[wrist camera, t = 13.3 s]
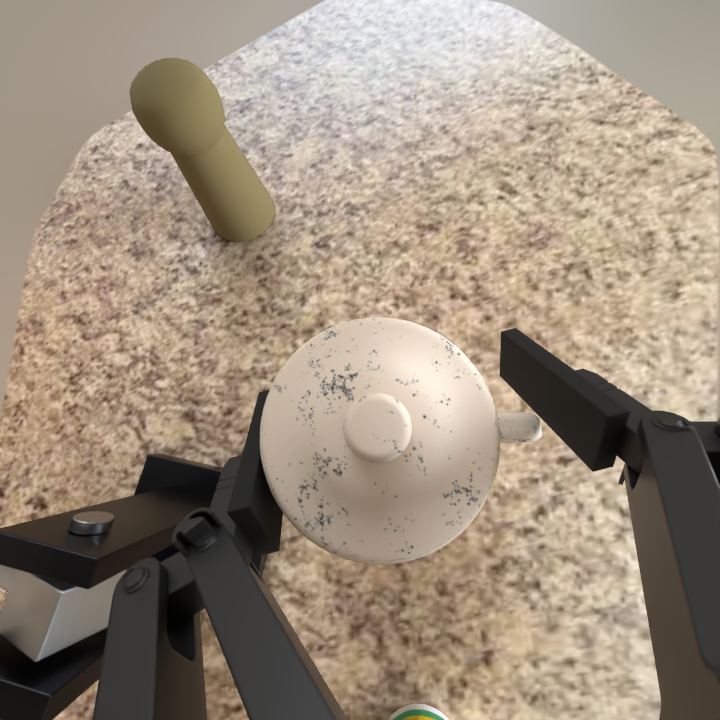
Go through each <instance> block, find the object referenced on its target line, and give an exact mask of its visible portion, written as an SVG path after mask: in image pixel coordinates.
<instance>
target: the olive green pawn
mask: <svg viewBox="0 0 720 720" xmlns="http://www.w3.org/2000/svg"><path fill="white" fill-rule="evenodd" d="M130 98H131V104H132V110H133V113H134V115H135V117H136V119H137V121H138V122H139V124H140V125H141V127H142V128H143V130H144V131H145V132H146V133H147V135H148V136H149V137H150V138H151V139H152V140H153V141H154V142H155V143H156V144H158V145H159V146H160V147H162V148H163V149H165V150H166V151H169V152H171V154H172V156H173V158H174V159H175V161H176V163H177V165H178V166H179V168H180V170H181V172H182V174H183V175H184V177H185V179H186V181H187V182H188V184H189V186H190V188H191V190H192V191H193V193H194V195H195V197H196V198H197V200H198V202H199V204H200V206H201V207H202V209H203V211H204V213H205V214H206V216H207V218H208V220H209V221H210V223H211V225H212V227H213V228H214V230H215V231H216V233H217V234H218V235H220V236H221V237H223V238H224V239H226V240H230V241H233V242H244V241H248V240H251V239H254V238H256V237H258V236H259V235H261V234H262V233H264V232H265V231H266V230H267V228H268V227H269V226H270V225H271V223H272V221H273V218H274V215H275V206H274V202H273V199H272V198H271V196H270V194H269V193H268V191H267V190H266V188H265V187H264V185H263V184H262V182H261V180H260V179H259V177H258V176H257V174H256V173H255V171H254V170H253V168H252V167H251V165H250V163H249V162H248V160H247V159H246V157H245V156H244V154H243V153H242V151H241V149H240V148H239V146H238V145H237V143H236V142H235V140H234V139H233V137H232V135H231V134H230V132H229V131H228V129H227V128H226V126H225V125H224V122H225V114H224V109H223V105H222V101H221V98H220V95H219V93H218V91H217V89H216V87H215V86H214V84H213V83H212V81H211V80H210V79H209V77H208V76H207V75H206V74H205V72H204V71H203V70H201V69H200V68H199V67H197V66H196V65H195V64H193V63H191V62H190V61H188V60H183V59H178V58H165V59H161V60H157V61H154V62H152V63H150V64H149V65H147V66H145V67H144V68H143V69H142V70H141V71H140V72H139V73H138V74H137V76H136V77H135V79H134V80H133V82H132V84H131V88H130Z"/></svg>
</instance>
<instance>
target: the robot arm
mask: <svg viewBox="0 0 720 720" xmlns="http://www.w3.org/2000/svg"><path fill="white" fill-rule="evenodd" d="M500 376H501V377H502V378H503V379H504V380H505V381H506V382H507V383H508V384H509V385H510V387H511V388H512V389H513V390H514V391H515V392H516V393H517V394H518V395H519V396H520V397H521V398H522V399H523V400H524V401H525V402H526V403H527V404H528V405H529V406H530V407H531V408H532V409H533V410H534V411H535V412H536V413H537V414H538V415H539V416H540V417H541V419H542V420H543V421H544V422H545V423H546V424H547V425H548V426H549V427H550V428H551V429H552V430H553V431H554V432H555V433H556V434H557V435H558V436H559V437H560V438H561V439H562V440H563V441H564V442H565V443H566V444H567V445H568V446H569V447H570V448H571V449H572V451H573V452H574V453H575V454H576V455H577V456H578V457H579V458H580V459H581V460H582V461H583V462H584V463H585V464H586V465H587V466H588V467H589V468H590V469H591V470H592V471H597V470H601V469H605V468H609V467H613V465H614V462H615V459H616V456H618V457H619V458H621V459H622V460H623V461H624V462H625V465H624V468H623V470H622V473H621V476H620V479H619V484H622V485H623V482H624V480H625V483H626V489H627V495H628V501H629V507H630V513H631V519H632V525H633V532H634V538H635V544H636V550H637V556H638V562H639V568H640V574H641V580H642V586H643V592H644V598H645V604H646V610H647V616H648V622H649V628H650V634H651V640H652V646H653V652H654V658H655V664H656V670H657V676H658V682H659V688H660V695H661V711H660V719H659V720H720V418H719V420H718V421H717V422H690V421H688V420H687V419H685V418H684V417H682V416H679V415H677V414H674V413H670V412H666V411H652V410H650V409H649V408H647V407H646V406H644V405H643V404H641V403H640V402H638V401H637V400H635V399H634V398H632V397H631V396H629V395H628V394H626V393H625V392H623V391H622V390H620V389H617V387H616V386H614V385H613V384H611V383H608V381H607V380H605V379H604V378H602V377H601V376H599V375H598V374H596V373H593V372H590V371H588V370H585V369H580V370H576V371H575V370H573V369H572V368H571V367H569V366H568V365H566V364H565V363H564V362H562V361H561V360H559V359H558V358H557V357H555V356H554V355H552V354H551V353H550V352H548V351H547V350H545V349H544V348H543V347H541V346H540V345H538V344H537V343H536V342H534V341H533V340H531V339H530V338H529V337H527V336H526V335H524V334H523V333H522V332H520V331H519V330H517V329H516V328H514V329H510V330H506V331H502V332H501V351H500ZM269 391H270V390H267V391H263V392H259V395H258V399H257V402H256V406H255V410H254V414H253V417H252V421H251V425H250V428H249V432H248V436H247V439H246V443H245V447H244V451H243V454H242V455H241V456H237V457H233V458H230V459H229V460H228V462H227V463H226V464H225V466H224V467H223V469H222V471H221V474H220V477H219V482H218V483H217V487H216V491H215V493H214V496H213V499H212V502H211V505H210V508H199V509H196V510H194V511H192V512H190V513H189V514H187V515H186V516H185V517H184V518H183V519H182V520H181V521H180V522H179V523H178V525H177V526H176V527H175V529H174V531H173V534H172V544H173V545H174V546H175V547H176V548H177V549H178V550H179V551H180V552H178V553H176V554H174V555H173V556H171V557H169V558H167V559H165V560H164V561H162V562H159V561H158V560H157V559H155V558H154V557H149V558H145V559H142V560H140V561H138V562H137V563H135V564H134V565H133V566H131V567H130V568H129V569H128V570H127V571H126V572H125V573H124V574H123V575H122V577H121V578H120V580H119V581H118V583H117V584H116V587H115V589H114V592H113V597H112V603H111V609H110V615H109V621H108V628H107V634H106V640H105V646H104V652H103V659H102V665H101V671H100V677H99V683H98V690H97V696H96V702H95V708H94V714H93V720H207V712H206V697H205V682H204V668H203V653H202V638H201V623H200V611H201V610H203V609H204V608H206V611H207V613H208V616H209V618H210V621H211V624H212V626H213V629H214V631H215V634H216V636H217V639H218V641H219V644H220V646H221V649H222V651H223V654H224V656H225V659H226V662H227V664H228V667H229V669H230V672H231V674H232V677H233V679H234V682H235V684H236V687H237V689H238V692H239V694H240V697H241V700H242V702H243V705H244V707H245V710H246V712H247V715H248V717H249V720H348V719H347V717H346V716H345V714H344V712H343V711H342V709H341V707H340V706H339V704H338V703H337V701H336V699H335V698H334V696H333V694H332V693H331V691H330V689H329V688H328V686H327V684H326V683H325V681H324V679H323V678H322V676H321V674H320V673H319V671H318V669H317V668H316V666H315V664H314V663H313V661H312V659H311V658H310V656H309V654H308V653H307V651H306V649H305V648H304V646H303V645H302V643H301V641H300V640H299V638H298V636H297V635H296V633H295V631H294V630H293V628H292V626H291V625H290V623H289V621H288V620H287V618H286V616H285V615H284V613H283V611H282V610H281V608H280V606H279V605H278V603H277V601H276V600H275V598H274V596H273V595H272V593H271V591H270V590H269V588H268V587H267V585H266V583H265V582H264V580H263V578H262V577H261V575H260V573H259V572H258V570H257V568H256V567H255V565H254V563H253V562H252V561H251V557H252V551H253V549H254V550H255V551H256V553H257V554H258V555H259V556H261V555H265V554H269V553H273V552H276V551H279V546H280V536H281V526H282V516H283V512H282V510H281V509H280V507H279V506H278V504H277V502H276V500H275V498H274V497H273V495H272V493H271V490H270V488H269V485H268V483H267V480H266V477H265V473H264V470H263V465H262V460H261V453H260V426H261V418H262V413H263V408H264V405H265V402H266V398H267V396H268V393H269Z"/></svg>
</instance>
